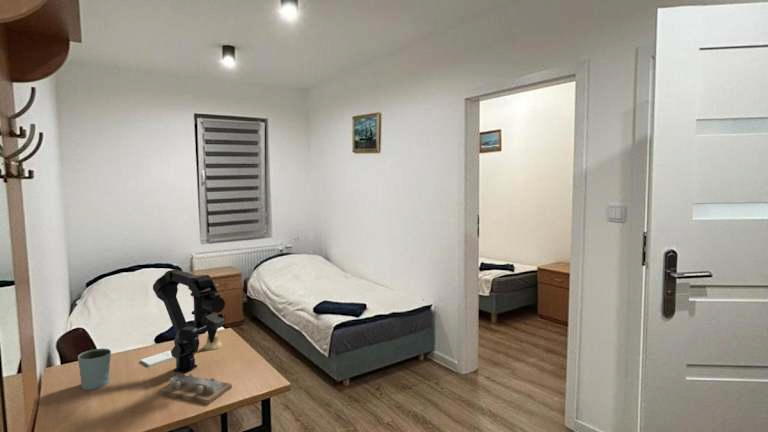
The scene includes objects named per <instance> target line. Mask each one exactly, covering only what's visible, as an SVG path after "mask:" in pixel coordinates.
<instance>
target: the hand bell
mask: <svg viewBox="0 0 768 432" xmlns="http://www.w3.org/2000/svg"><path fill="white" fill-rule="evenodd" d="M213 314H214V315H215V312H213ZM222 347H223V343H222V342H221V341H220V340H219V335H218V333H216V334H215V337H214V341H213V343H210V340H209V337H208V336H207V339H206V342H205V344H204V345H203V347H202V349H203V350H206V351H215V350H218V349H221V348H222Z"/></svg>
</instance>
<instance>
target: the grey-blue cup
mask: <svg viewBox="0 0 768 432" xmlns="http://www.w3.org/2000/svg"><path fill="white" fill-rule="evenodd" d="M111 354H112V350H110V349H109V348H96V349H90V350H87V351H84V352H81V353H80V354H78V355H77V362H78V369H79V376H80V383H81V385H80V386H81V389H82V390H84V391H93V390H97V389H100V388H103V387H106V386H107V385H108V384H109V382H110V372H111V370H110V368H111V366H110V364H111Z"/></svg>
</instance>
